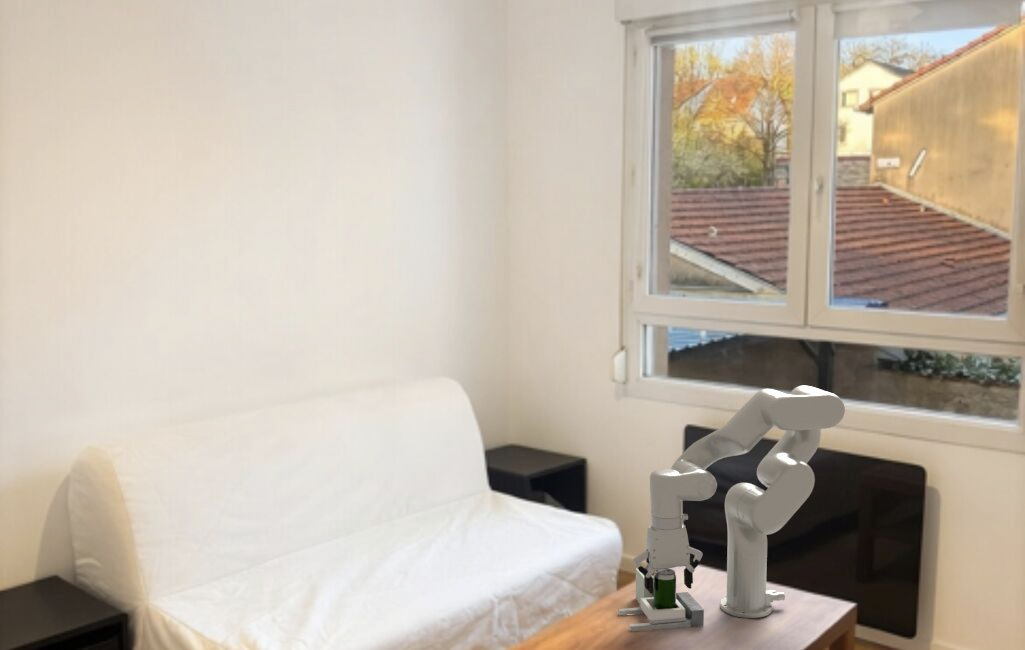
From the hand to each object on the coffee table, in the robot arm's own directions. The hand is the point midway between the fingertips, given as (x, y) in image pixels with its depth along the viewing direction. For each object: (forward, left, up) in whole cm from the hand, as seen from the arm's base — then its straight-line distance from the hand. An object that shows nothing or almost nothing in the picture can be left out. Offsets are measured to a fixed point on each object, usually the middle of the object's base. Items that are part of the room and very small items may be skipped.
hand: (668, 588), depth 236 cm
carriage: (+2, 0, -6) cm, 6 cm away
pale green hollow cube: (0, -10, -8) cm, 12 cm away
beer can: (+1, 0, -8) cm, 8 cm away
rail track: (+2, 0, -8) cm, 8 cm away
